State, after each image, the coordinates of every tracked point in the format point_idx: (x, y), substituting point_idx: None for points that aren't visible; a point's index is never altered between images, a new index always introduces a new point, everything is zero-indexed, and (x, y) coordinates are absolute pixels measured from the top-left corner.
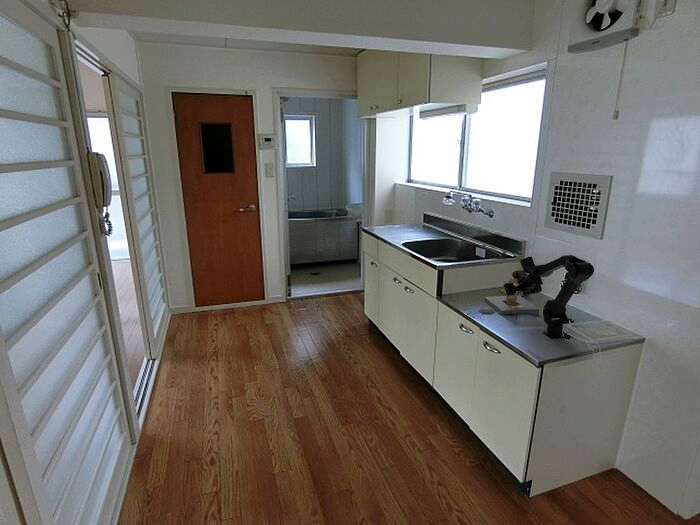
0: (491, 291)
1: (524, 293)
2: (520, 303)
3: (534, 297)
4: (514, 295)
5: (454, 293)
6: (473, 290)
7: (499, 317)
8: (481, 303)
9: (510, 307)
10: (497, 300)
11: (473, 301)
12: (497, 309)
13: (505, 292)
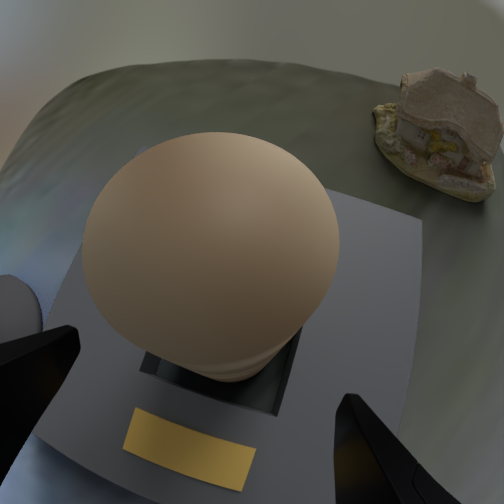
0: (326, 91)
1: (343, 449)
2: (303, 389)
3: (500, 244)
4: (199, 373)
5: (134, 67)
6: (245, 61)
7: None
8: None
9: (118, 424)
10: None
11: (106, 149)
12: None
13: (379, 131)
